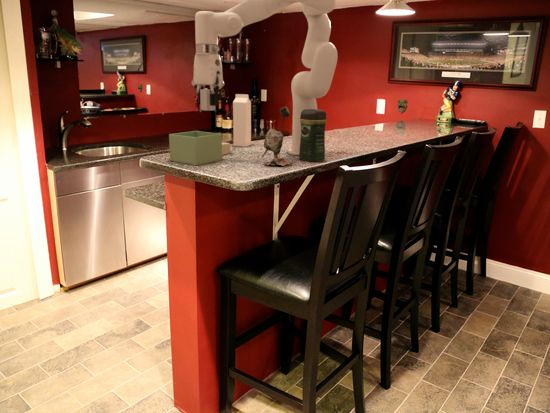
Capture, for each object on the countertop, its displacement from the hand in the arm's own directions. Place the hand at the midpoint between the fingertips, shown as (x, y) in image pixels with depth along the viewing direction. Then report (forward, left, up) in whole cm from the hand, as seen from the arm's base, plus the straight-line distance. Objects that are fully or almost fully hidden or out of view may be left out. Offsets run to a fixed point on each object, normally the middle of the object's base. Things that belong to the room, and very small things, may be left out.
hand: (207, 104), depth 157 cm
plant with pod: (-24, -9, -20) cm, 32 cm away
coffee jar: (-29, -25, -20) cm, 43 cm away
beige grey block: (+6, -14, -20) cm, 25 cm away
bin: (+3, +3, -20) cm, 20 cm away
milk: (+13, -35, -20) cm, 42 cm away
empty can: (0, 0, -2) cm, 2 cm away
